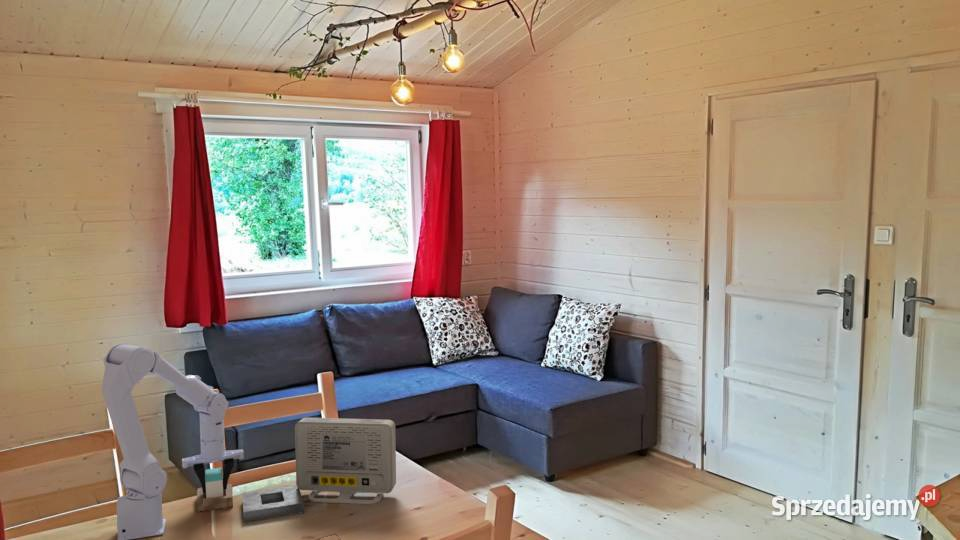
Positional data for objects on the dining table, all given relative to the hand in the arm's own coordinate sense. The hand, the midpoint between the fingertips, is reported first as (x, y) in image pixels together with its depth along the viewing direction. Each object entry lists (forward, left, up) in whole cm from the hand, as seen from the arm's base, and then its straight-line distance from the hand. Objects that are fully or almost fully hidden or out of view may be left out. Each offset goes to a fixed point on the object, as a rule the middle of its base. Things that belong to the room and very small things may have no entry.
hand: (214, 490), depth 175 cm
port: (+14, -9, -3) cm, 16 cm away
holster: (0, 0, -3) cm, 3 cm away
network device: (+32, -9, -3) cm, 33 cm away
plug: (0, 0, -3) cm, 3 cm away
